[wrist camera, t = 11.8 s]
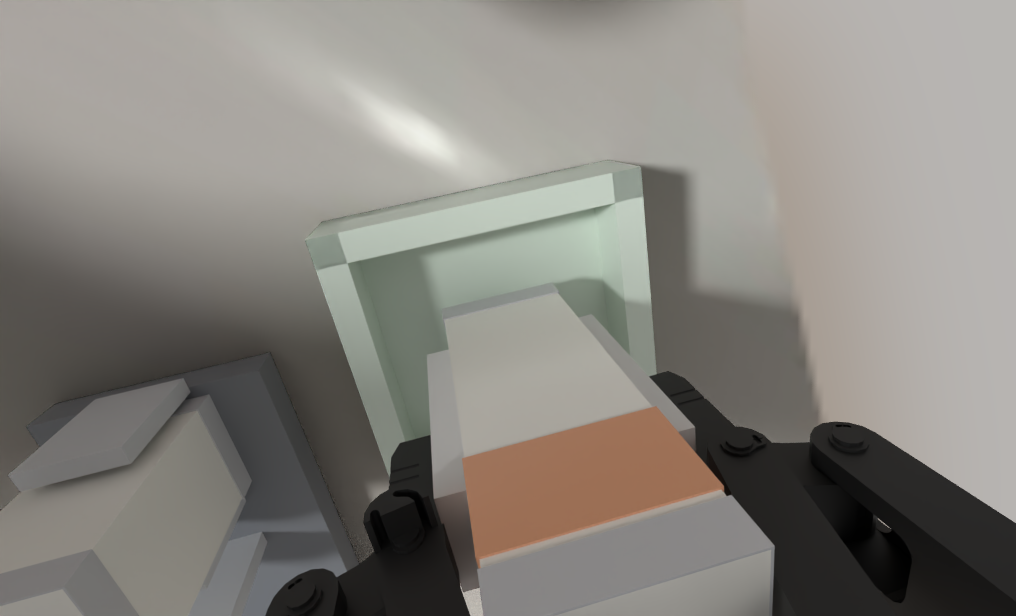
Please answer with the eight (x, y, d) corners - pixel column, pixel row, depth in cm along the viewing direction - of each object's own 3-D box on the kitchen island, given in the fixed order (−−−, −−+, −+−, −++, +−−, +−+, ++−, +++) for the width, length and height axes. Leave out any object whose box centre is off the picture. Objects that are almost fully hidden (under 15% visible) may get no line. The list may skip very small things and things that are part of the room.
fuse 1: (144, 509, 19) (-27, 755, 12) (91, 422, 17) (-147, 644, 10) (252, 480, 19) (152, 701, 12) (209, 394, 18) (63, 587, 10)
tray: (401, 459, 22) (399, 507, 19) (322, 221, 18) (304, 240, 15) (631, 397, 23) (661, 435, 20) (607, 159, 19) (640, 166, 16)
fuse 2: (466, 404, 19) (536, 799, 8) (441, 308, 17) (486, 634, 6) (566, 378, 19) (767, 719, 8) (551, 282, 18) (774, 545, 7)
